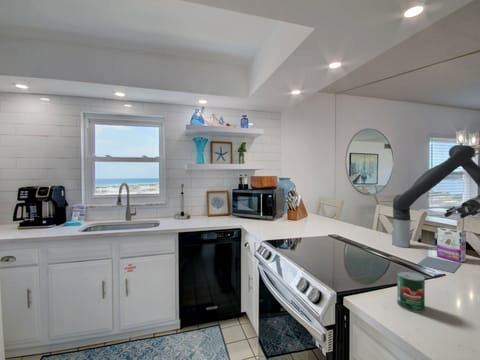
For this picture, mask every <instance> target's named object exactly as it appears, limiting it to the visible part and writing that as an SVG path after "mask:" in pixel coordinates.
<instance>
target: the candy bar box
mask: <svg viewBox="0 0 480 360" xmlns="http://www.w3.org/2000/svg"><path fill="white" fill-rule="evenodd" d="M436 232H437V233H436V237H437V238H436V241H437V242H436V245H437V247H436V257H438V258H440V259H444V260H447V261H451V262H456V263H460V264H462V263H465V262H466V261H467V260H466V259H467V255H466V254H467V251H466V244H467V242H466V239H467V237H466V236H467V232H466V230H461V229H455V228H454V229H453V228H447V227H437V229H436Z"/></svg>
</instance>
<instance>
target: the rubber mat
mask: <svg viewBox="0 0 480 360" xmlns="http://www.w3.org/2000/svg"><path fill="white" fill-rule="evenodd" d="M417 265H418V266H421V267H426V268H431V269H433V270H434V269H435V270H439V271H442V272H446V273H451V274H454V273H455V271H456V270H457V269H458V268H459V267H460V266H461V265H462V263H459V262H456V261H452V260H447V259H443V258H436V257H431V256H425V258H423V259H422V260H420V261H419V262H417Z"/></svg>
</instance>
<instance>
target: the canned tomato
mask: <svg viewBox="0 0 480 360" xmlns="http://www.w3.org/2000/svg"><path fill="white" fill-rule="evenodd" d="M396 274H397V278H396V279H397V280H396V281H397V285H396V286H397V289H396V291H397V295H396V296H397V297H396V299H397V301H396V302H397V303H396V304H397V305H398V306H399V307H400V308H402V309H404V310H406V311H408V312H412V313H423V312H425V311H426V310H425V308H426V307H425V305H426V304H425V301H426V299H425V297H426V296H425V293H426V292H425V291H426V290H425V288H426V286H425V285H426V280H425V279H426V278H425V276H424V275H422V274H420V273H417V272H414V271H410V270H399V271H397V273H396Z"/></svg>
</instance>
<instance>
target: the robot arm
mask: <svg viewBox="0 0 480 360" xmlns="http://www.w3.org/2000/svg"><path fill="white" fill-rule="evenodd" d="M475 150H476V149H475V148H474V147H473V146H472V145H471V146H470V145H463V144H456V145H453V146H451V147H450V148H449V149H448V156H449V157H448V158H447V159H446V160H445V161H442V162H441V163H439V164H438V165H435V166H433V167H431V168H430V169H427V170H426V172H424V173H423V174H422V175H421V176H420V177H418V178H417V179H416V181H415V182H414V183H413V184H412V186H410V188H408V189H407V190H406V191H404V192H403V193H402V194H397V195H396V196H394V197H393V200H392V218H393V224H392V225H393V226H392V230H391V245H392V246H395V247H399V248H410V247H411V212H410V209H411V206H412V205H413V204H414V203H415V202H416V201H418V199H419V198H420V197H422V196H423V195H425V194H426V193H427V192H428V191H430V190H432V189H433V188H434V187H436V186H437V185H438V184H440V182H441V183H442V181H443V180H445V178H447V177H448V176H449V175H450V174H451V173H453V172H454V171H455V170H457V169H459V167H461V168H463V170H464V171H465V173H467V175H469V176H470V178H471V179H472V180H473V182H474V183H475V184H476V185H477V186H478V187H479V188H480V165H478V164H477V163H476V162H475V161H474V160H473V157H474V156H475V153H476V151H475ZM479 213H480V194H479V195H477V196H474V197H472V198H469V199H467V200H466V201H464V202H462V203H461V204H460V206H458V207H455V206H453V207H451V208H449V209H446V210H445V213H444V217H445V218H449V217H451V216H453V215H455V216H456V215H459V217H460V219H464V218H466V217H470V216H472V217H474V216H476V215H478V214H479Z"/></svg>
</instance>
